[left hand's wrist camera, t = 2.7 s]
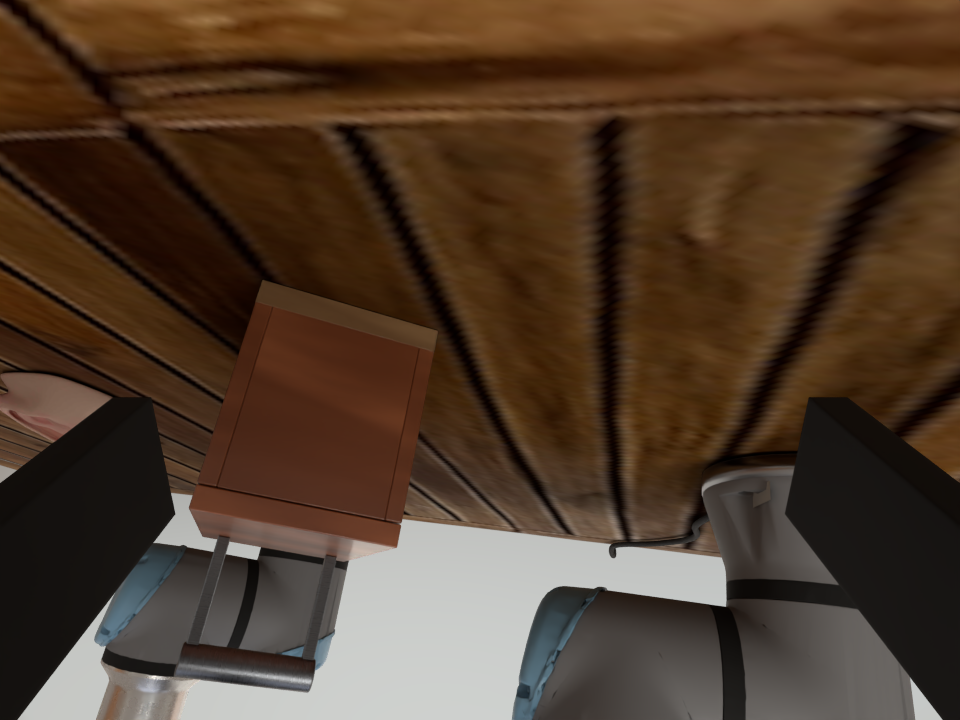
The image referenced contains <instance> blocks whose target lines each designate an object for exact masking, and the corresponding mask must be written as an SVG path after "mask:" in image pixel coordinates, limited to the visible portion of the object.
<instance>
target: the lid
mask: <svg viewBox="0 0 960 720" xmlns="http://www.w3.org/2000/svg"><path fill="white" fill-rule="evenodd" d="M189 510H190V511H191V514H192V516H193V518H194V520H195V522H196V524H197V526H198V528H199V530H200V532H201V534H202V536H203V537H207V538H213V539H217V543H216V546H215V549H214V553H213V556H212V559H211V563H210V566H209V569H208V573H207V576H206V579H205V583H204V586H203V589H202V593H201V596H200V599H199V603H198V606H197V609H196V613H195V616H194V619H193V623H192V626H191V629H190V633H189V636H188V639H187V642H184V643H183V646H182V649H181V652H180V655H179V658H178V661H177V665H176V668H175V672H174V677H179V678H187V679H196V680H204V681H213V682H221V683H230V684H238V685H247V686H255V687H264V688H272V689H281V690H289V691H298V692H306V693H307V692H309V691H310V689H311V686H312V682H313V678H314V674H315V668H316V660H315V659H314V657H315V652H316V648H317V643H318V639H319V634H320V630H321V625H322V621H323V617H324V612H325V608H326V603H327V599H328V594H329V590H330V585H331V581H332V576H333V572H334V568H335V563H336V560H337V561H342V562H345V561H349V560H352V559H356V558H360V557H363V556H367V555H371V554H375V553H379V552H382V551H386V550H389V549H393V548H397V544H398V539H399V534H400V529H401V525H400V524H395V523H390V522H385V521H380V520H375V519H370V518H365V517H360V516H355V515H350V514H345V513H340V512H335V511H330V510H325V509H320V508H315V507H310V506H305V505H300V504H294V503H289V502H284V501H279V500H274V499H269V498H264V497H259V496H254V495H249V494H244V493H239V492H234V491H229V490H224V489H219V488H214V487H209V486H204V485H199V484H197V485H196V487H195V490H194V493H193V496H192V500H191V503H190V506H189ZM229 541H230V542H236V543H241V544H247V545H252V546H258V547H264V548H269V549H275V550H281V551H286V552H292V553H297V554H303V555H309V556H314V557H320V558H324V562H323V567H322V571H321V575H320V580H319V584H318V588H317V593H316V597H315V601H314V606H313V610H312V614H311V618H310V623H309V627H308V631H307V636H306V640H305V644H304V649H303V653H302V657H298V656H290V655H283V654H275V653H267V652H260V651H252V650H245V649H237V648H230V647H222V646H215V645H207V644H200V640H201V637H202V633H203V630H204V627H205V623H206V620H207V616H208V613H209V609H210V606H211V603H212V599H213V596H214V592H215V589H216V586H217V582H218V579H219V575H220V572H221V568H222V565H223V562H224V558H225V555H226V551H227V548H228V545H229Z"/></svg>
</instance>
